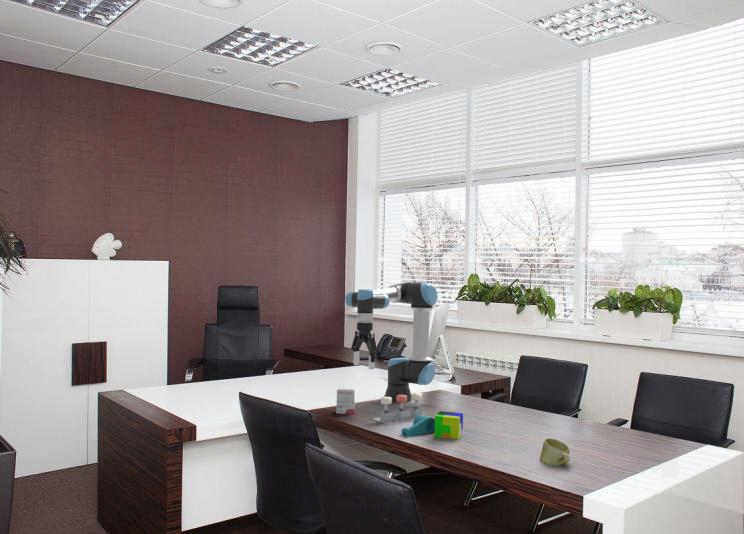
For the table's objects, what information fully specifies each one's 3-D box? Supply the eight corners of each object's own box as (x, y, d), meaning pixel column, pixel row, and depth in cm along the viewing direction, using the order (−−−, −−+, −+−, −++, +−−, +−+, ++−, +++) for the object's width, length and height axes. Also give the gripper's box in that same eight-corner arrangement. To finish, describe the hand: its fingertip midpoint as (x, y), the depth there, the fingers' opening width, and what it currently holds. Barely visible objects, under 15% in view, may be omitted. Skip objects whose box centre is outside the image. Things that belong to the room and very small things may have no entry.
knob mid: (402, 408, 295) (402, 394, 295) (408, 410, 291) (409, 396, 291) (394, 409, 292) (394, 395, 292) (400, 411, 288) (400, 397, 288)
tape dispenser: (436, 434, 268) (436, 416, 268) (408, 439, 260) (409, 420, 260) (426, 431, 274) (427, 413, 274) (399, 435, 265) (399, 417, 265)
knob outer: (387, 410, 290) (387, 396, 290) (393, 412, 286) (393, 398, 286) (378, 411, 287) (378, 397, 287) (384, 413, 283) (385, 399, 283)
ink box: (354, 412, 306) (355, 388, 306) (353, 414, 301) (354, 390, 301) (337, 411, 307) (338, 387, 307) (336, 413, 302) (336, 389, 302)
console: (412, 414, 304) (412, 404, 304) (429, 420, 293) (430, 409, 293) (372, 420, 290) (372, 409, 290) (388, 426, 279) (389, 415, 279)
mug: (531, 451, 231) (545, 430, 228) (553, 462, 233) (568, 441, 230) (540, 470, 219) (555, 449, 217) (564, 482, 221) (579, 461, 218)
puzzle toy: (462, 436, 266) (463, 413, 266) (458, 442, 256) (458, 418, 256) (439, 434, 269) (440, 411, 269) (434, 439, 259) (434, 416, 260)
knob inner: (417, 406, 300) (417, 392, 300) (423, 408, 296) (424, 394, 296) (409, 407, 297) (409, 393, 297) (415, 409, 293) (415, 395, 293)
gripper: (344, 320, 301) (343, 363, 300) (372, 324, 280) (371, 371, 279) (358, 319, 305) (357, 362, 304) (386, 324, 284) (385, 370, 283)
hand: (363, 367), depth 292 cm, fingers open, 13 cm apart
